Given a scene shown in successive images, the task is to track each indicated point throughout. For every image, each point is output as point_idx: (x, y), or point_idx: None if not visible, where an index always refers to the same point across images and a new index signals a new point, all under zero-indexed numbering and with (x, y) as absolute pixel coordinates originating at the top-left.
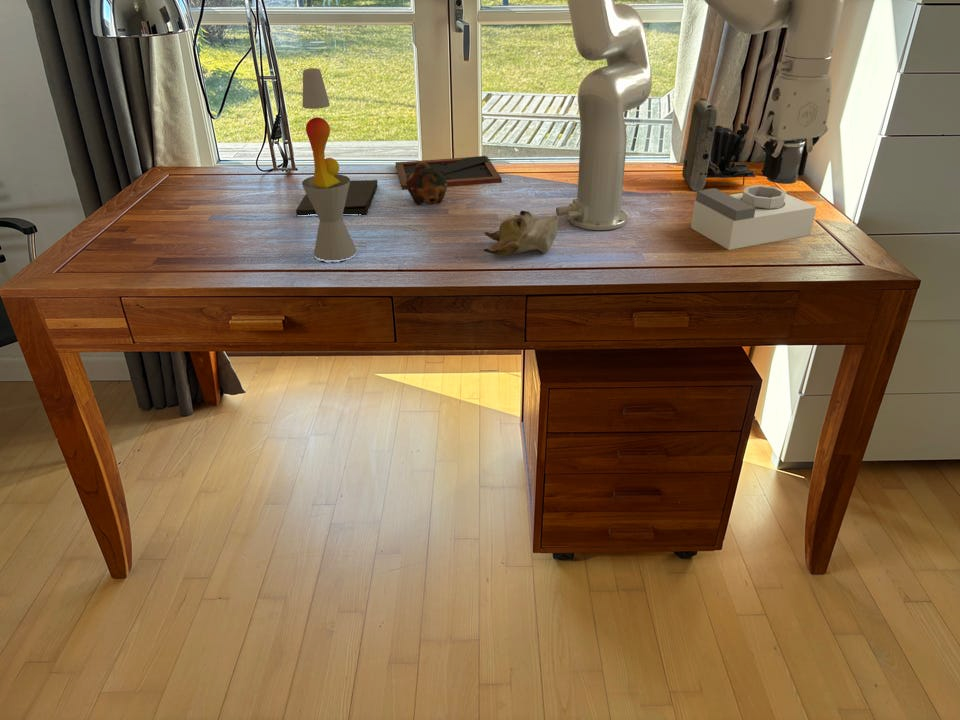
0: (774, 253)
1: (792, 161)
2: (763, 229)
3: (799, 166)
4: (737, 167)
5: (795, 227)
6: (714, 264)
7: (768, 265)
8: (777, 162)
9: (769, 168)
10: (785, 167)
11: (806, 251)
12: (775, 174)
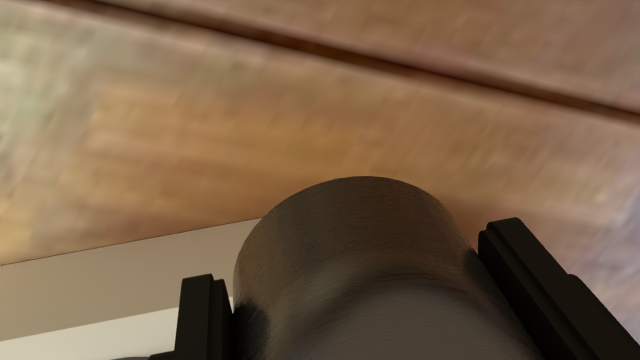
0: (191, 145)
1: (442, 317)
2: (201, 263)
3: (276, 309)
4: None
5: (35, 285)
6: (464, 100)
7: (275, 45)
8: (607, 322)
9: (598, 303)
10: (476, 278)
11: (48, 137)
12: (532, 239)
